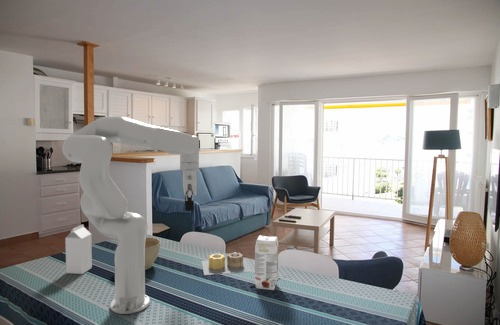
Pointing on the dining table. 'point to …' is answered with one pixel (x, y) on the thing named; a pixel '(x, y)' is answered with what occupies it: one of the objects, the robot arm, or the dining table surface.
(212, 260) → the ochre gear
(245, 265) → the gear board
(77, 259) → the milk carton
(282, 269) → the dining table surface
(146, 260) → the planter bowl
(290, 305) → the dining table surface
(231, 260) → the beech gear
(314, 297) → the dining table surface
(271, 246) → the juice carton
